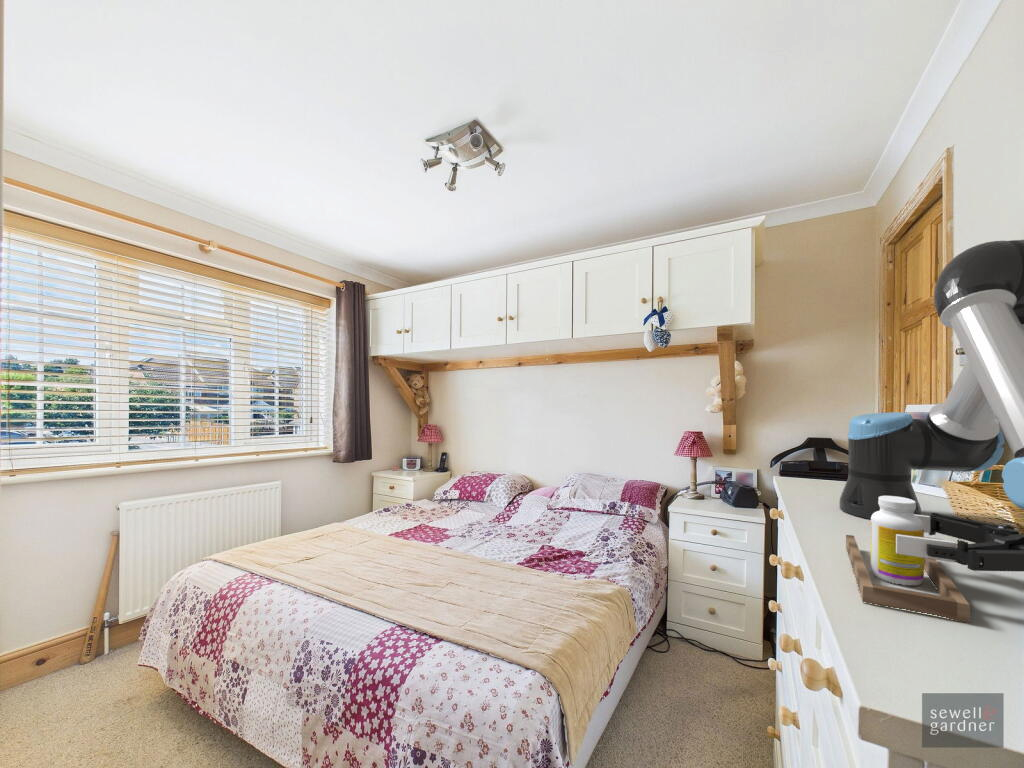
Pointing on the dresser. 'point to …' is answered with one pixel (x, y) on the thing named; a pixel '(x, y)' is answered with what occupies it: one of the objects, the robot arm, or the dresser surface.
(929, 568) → the walnut channel
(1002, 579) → the dresser surface
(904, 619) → the dresser surface
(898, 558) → the supplement bottle
